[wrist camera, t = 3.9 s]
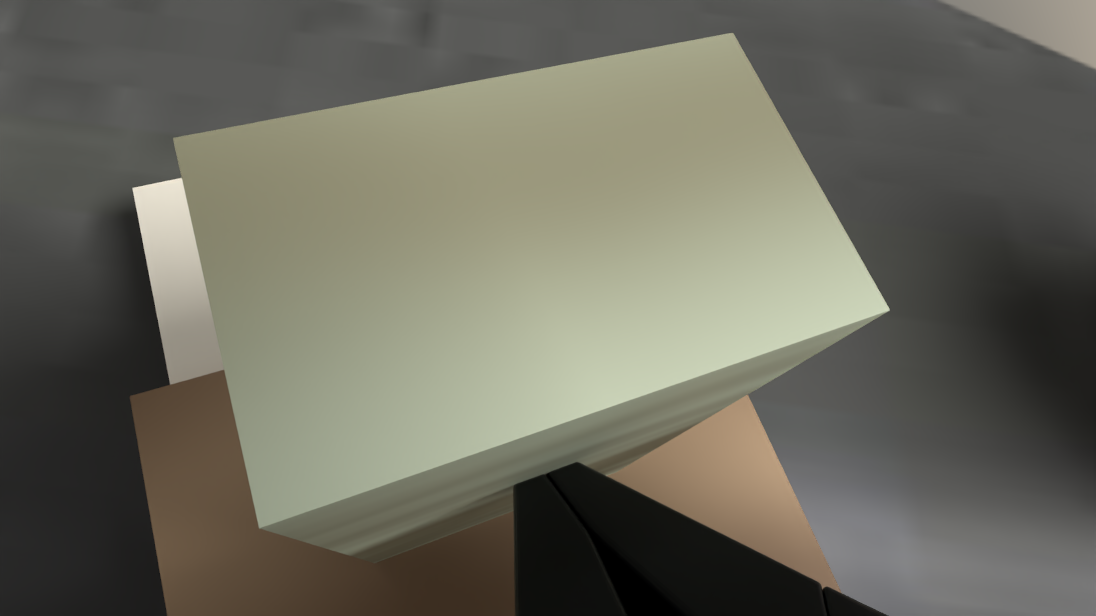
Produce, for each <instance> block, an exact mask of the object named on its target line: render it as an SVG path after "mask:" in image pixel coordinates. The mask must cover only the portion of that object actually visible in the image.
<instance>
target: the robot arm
mask: <svg viewBox="0 0 1096 616" xmlns="http://www.w3.org/2000/svg"><path fill="white" fill-rule="evenodd" d="M513 515H514V587H515V616H888V615H886V614H883V613H881V612H879V611H877V610H875V609H873V608H871V607H869V606H867V605H864V604H862V603H860V602H858V601H856V600H854V599H852V598H850V597H848V596H846V595H844V594H842V593H840V592H838V591H836V590H834V589H832V588H830V587H827V586H826V587H824V588H823V590H822V586H821V584H820V583H819V582H818V581H816V580H814V579H812V578H810V577H808V576H806V575H804V574H802V573H800V572H798V571H796V570H794V569H792V568H790V567H788V566H786V565H784V564H782V563H780V562H778V561H776V560H774V559H772V558H770V557H768V556H766V555H764V554H762V553H760V552H758V551H756V550H754V549H752V548H750V547H748V546H746V545H744V544H742V543H740V542H738V541H736V540H734V539H732V538H730V537H728V536H726V535H724V534H722V533H720V532H718V531H716V530H714V529H712V528H710V527H708V526H706V525H704V524H702V523H700V522H698V521H696V520H694V519H692V518H690V517H688V516H686V515H684V514H682V513H680V512H678V511H676V510H674V509H672V508H670V507H668V506H666V505H664V504H662V503H660V502H658V501H656V500H654V499H652V498H650V497H648V496H646V495H644V494H642V493H640V492H638V491H636V490H634V489H632V488H630V487H628V486H626V485H624V484H622V483H620V482H618V481H616V480H614V479H612V478H610V477H608V476H606V475H604V474H602V473H600V472H598V471H596V470H594V469H592V468H590V467H588V466H586V465H584V464H582V463H580V462H575V463H572V464H569V465H567V466H564V467H561V468H559V469H556V470H553V471H551V472H549V473H547V474H546V475H545V474H542V475H539V476H537V477H534V478H531V479H528V480H526V481H523V482H520V483H517V484H515V485H514V486H513Z"/></svg>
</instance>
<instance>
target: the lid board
mask: <svg viewBox="0 0 1096 616" xmlns="http://www.w3.org/2000/svg"><path fill="white" fill-rule="evenodd" d="M173 140H174V145H175V149H176V154H177V158H178V163H179V167H180V172H181V176H182V181H183V185H184V190H185V195H186V199H187V204H188V208H189V213H190V217H191V222H192V226H193V231H194V235H195V240H196V244H197V249H198V253H199V258H200V263H201V267H202V272H203V276H204V281H205V285H206V290H207V294H208V299H209V303H210V308H211V312H212V317H213V321H214V326H215V331H216V335H217V340H218V344H219V349H220V353H221V358H222V362H223V367H224V370H221V371H217V372H214V373H210V374H207V375H203V376H200V377H196V378H192V379H189V380H185V381H182V382H178V383H175V384H171V385H168V386H164V387H160V388H157V389H153V390H150V391H146V392H143V393H139V394H135V395H132V396H130V401H131V407H132V413H133V419H134V425H135V430H136V436H137V442H138V448H139V454H140V460H141V465H142V471H143V477H144V483H145V489H146V494H147V500H148V506H149V512H150V518H151V524H152V529H153V535H154V541H155V547H156V553H157V559H158V564H159V570H160V576H161V582H162V588H163V594H164V599H165V605H166V611H167V616H515V587H514V515H513V486H514V485H515V484H517V483H520V482H523V481H526V480H528V479H531V478H534V477H537V476H539V475H542V474H545V475H546V474H547V473H549V472H551V471H553V470H556V469H559V468H561V467H564V466H567V465H569V464H572V463H575V462H580V463H582V464H584V465H586V466H588V467H590V468H592V469H594V470H596V471H598V472H600V473H602V474H604V475H606V476H608V477H610V478H612V479H614V480H616V481H618V482H620V483H622V484H624V485H626V486H628V487H630V488H632V489H634V490H636V491H638V492H640V493H642V494H644V495H646V496H648V497H650V498H652V499H654V500H656V501H658V502H660V503H662V504H664V505H666V506H668V507H670V508H672V509H674V510H676V511H678V512H680V513H682V514H684V515H686V516H688V517H690V518H692V519H694V520H696V521H698V522H700V523H702V524H704V525H706V526H708V527H710V528H712V529H714V530H716V531H718V532H720V533H722V534H724V535H726V536H728V537H730V538H732V539H734V540H736V541H738V542H740V543H742V544H744V545H746V546H748V547H750V548H752V549H754V550H756V551H758V552H760V553H762V554H764V555H766V556H768V557H770V558H772V559H774V560H776V561H778V562H780V563H782V564H784V565H786V566H788V567H790V568H792V569H794V570H796V571H798V572H800V573H802V574H804V575H806V576H808V577H810V578H812V579H814V580H816V581H818V582H819V583H820V584H821V586H822V590H823V588H824V587H826V586H827V587H830V588H832V589H834V590H836V591H838V592H840V593H841V591H840V589H839V586H838V584H837V582H836V580H835V578H834V576H833V574H832V572H831V570H830V567H829V565H828V563H827V561H826V559H825V557H824V555H823V553H822V551H821V548H820V546H819V544H818V542H817V540H816V538H815V536H814V534H813V532H812V529H811V527H810V525H809V523H808V521H807V519H806V517H805V515H804V513H803V510H802V508H801V506H800V504H799V502H798V500H797V498H796V496H795V494H794V491H793V489H792V487H791V485H790V483H789V481H788V479H787V477H786V475H785V472H784V470H783V468H782V466H781V464H780V462H779V460H778V458H777V456H776V453H775V451H774V449H773V447H772V445H771V443H770V441H769V439H768V437H767V434H766V432H765V430H764V428H763V426H762V424H761V422H760V420H759V418H758V415H757V413H756V411H755V409H754V407H753V405H752V403H751V401H750V399H749V396H748V394H749V393H751V392H753V391H754V390H756V389H758V388H759V387H761V386H763V385H765V384H766V383H768V382H770V381H771V380H773V379H775V378H776V377H778V376H780V375H781V374H783V373H785V372H786V371H788V370H790V369H792V368H793V367H795V366H797V365H798V364H800V363H802V362H803V361H805V360H807V359H808V358H810V357H812V356H813V355H815V354H817V353H819V352H820V351H822V350H824V349H825V348H827V347H829V346H830V345H832V344H834V343H835V342H837V341H839V340H840V339H842V338H844V337H846V336H847V335H849V334H851V333H852V332H854V331H856V330H857V329H859V328H861V327H862V326H864V325H866V324H868V323H869V322H871V321H873V320H874V319H876V318H878V317H879V316H881V315H883V314H884V313H886V312H888V311H889V310H890V309H889V308H888V306H887V304H886V302H885V300H884V299H883V297H882V295H881V293H880V292H879V290H878V288H877V286H876V285H875V283H874V281H873V279H872V278H871V276H870V274H869V272H868V270H867V269H866V267H865V265H864V263H863V262H862V260H861V258H860V256H859V255H858V253H857V251H856V249H855V248H854V246H853V244H852V242H851V240H850V239H849V237H848V235H847V233H846V232H845V230H844V228H843V226H842V225H841V223H840V221H839V219H838V218H837V216H836V214H835V212H834V210H833V209H832V207H831V205H830V203H829V202H828V200H827V198H826V196H825V195H824V193H823V191H822V189H821V188H820V186H819V184H818V182H817V180H816V179H815V177H814V175H813V173H812V172H811V170H810V168H809V166H808V165H807V163H806V161H805V159H804V157H803V156H802V154H801V152H800V150H799V149H798V147H797V145H796V143H795V142H794V140H793V138H792V136H791V135H790V133H789V131H788V129H787V127H786V126H785V124H784V122H783V120H782V119H781V117H780V115H779V113H778V112H777V110H776V108H775V106H774V105H773V103H772V101H771V99H770V97H769V96H768V94H767V92H766V90H765V89H764V87H763V85H762V83H761V82H760V80H759V78H758V76H757V75H756V73H755V71H754V69H753V67H752V66H751V64H750V62H749V60H748V59H747V57H746V55H745V53H744V52H743V50H742V48H741V46H740V45H739V43H738V41H737V39H736V37H735V36H734V34H733V33H729V34H724V35H718V36H713V37H708V38H702V39H697V40H692V41H686V42H681V43H676V44H671V45H665V46H660V47H655V48H649V49H644V50H639V51H633V52H628V53H623V54H617V55H612V56H607V57H601V58H596V59H591V60H585V61H580V62H575V63H570V64H564V65H559V66H554V67H548V68H543V69H538V70H532V71H527V72H522V73H516V74H511V75H506V76H500V77H495V78H490V79H484V80H479V81H474V82H469V83H463V84H458V85H453V86H447V87H442V88H437V89H431V90H426V91H421V92H415V93H410V94H405V95H399V96H394V97H389V98H383V99H378V100H373V101H368V102H362V103H357V104H352V105H346V106H341V107H336V108H330V109H325V110H320V111H314V112H309V113H304V114H298V115H293V116H288V117H282V118H277V119H272V120H267V121H261V122H256V123H251V124H245V125H240V126H235V127H229V128H224V129H219V130H213V131H208V132H203V133H197V134H192V135H187V136H181V137H176V138H173Z"/></svg>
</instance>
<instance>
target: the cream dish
mask: <svg viewBox="0 0 1096 616" xmlns="http://www.w3.org/2000/svg"><path fill="white" fill-rule="evenodd" d="M133 194H134V199H135V204H136V209H137V214H138V220H139V225H140V230H141V235H142V241H143V246H144V251H145V256H146V261H147V267H148V272H149V277H150V282H151V287H152V293H153V298H154V303H155V308H156V313H157V319H158V324H159V329H160V334H161V339H162V345H163V350H164V355H165V360H166V365H167V371H168V376H169V381H170V385H171V384H175V383H178V382H182V381H185V380H189V379H192V378H196V377H200V376H203V375H207V374H210V373H214V372H217V371H221V370H224V367H223V362H222V358H221V353H220V349H219V344H218V340H217V335H216V331H215V326H214V321H213V317H212V312H211V308H210V303H209V299H208V294H207V290H206V285H205V281H204V276H203V272H202V267H201V263H200V258H199V253H198V249H197V244H196V240H195V235H194V231H193V226H192V222H191V217H190V213H189V208H188V204H187V199H186V195H185V190H184V185H183V181H182V178H179V179H174V180H169V181H164V182H160V183H155V184H150V185H145V186H140V187H135V188H133Z"/></svg>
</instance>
